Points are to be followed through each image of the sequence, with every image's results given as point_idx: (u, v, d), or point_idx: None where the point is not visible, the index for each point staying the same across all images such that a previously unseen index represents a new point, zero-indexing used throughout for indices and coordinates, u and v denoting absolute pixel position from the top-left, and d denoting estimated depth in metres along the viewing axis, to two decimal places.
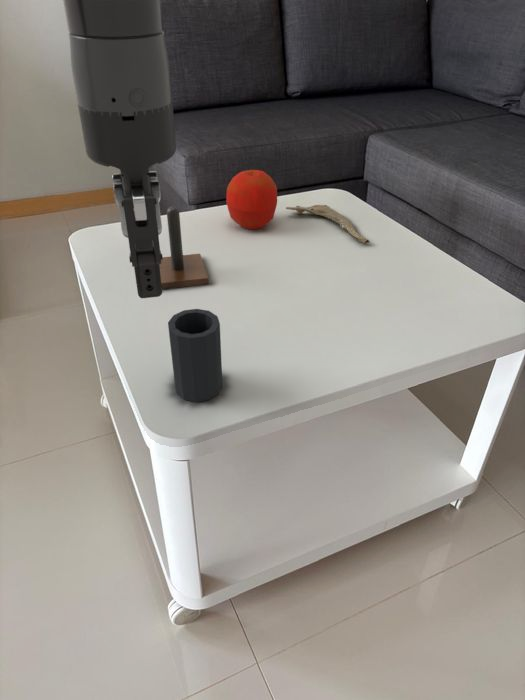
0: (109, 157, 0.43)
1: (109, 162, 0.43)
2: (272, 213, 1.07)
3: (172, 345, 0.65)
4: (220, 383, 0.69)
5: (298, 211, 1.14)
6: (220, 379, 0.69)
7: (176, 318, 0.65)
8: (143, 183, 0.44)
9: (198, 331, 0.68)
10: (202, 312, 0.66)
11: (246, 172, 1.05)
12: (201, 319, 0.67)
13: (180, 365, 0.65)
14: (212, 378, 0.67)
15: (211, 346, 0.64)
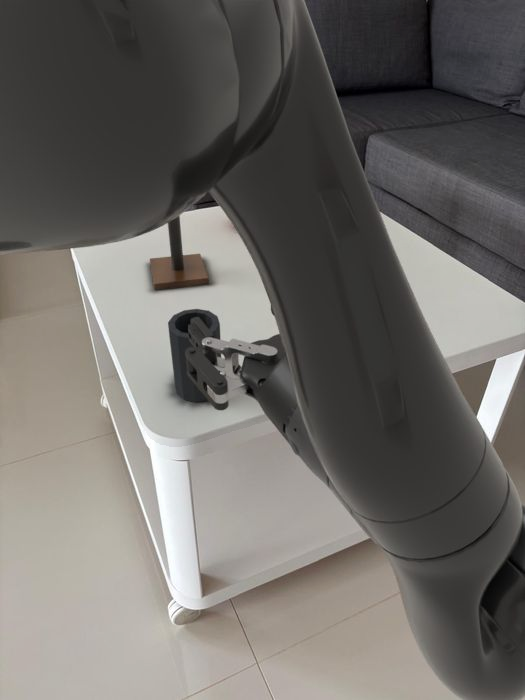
0: (269, 384, 0.41)
1: (267, 380, 0.41)
2: None
3: (172, 345, 0.65)
4: None
5: None
6: None
7: (176, 318, 0.65)
8: (250, 394, 0.44)
9: None
10: (202, 312, 0.66)
11: None
12: (201, 319, 0.67)
13: (180, 365, 0.65)
14: None
15: None
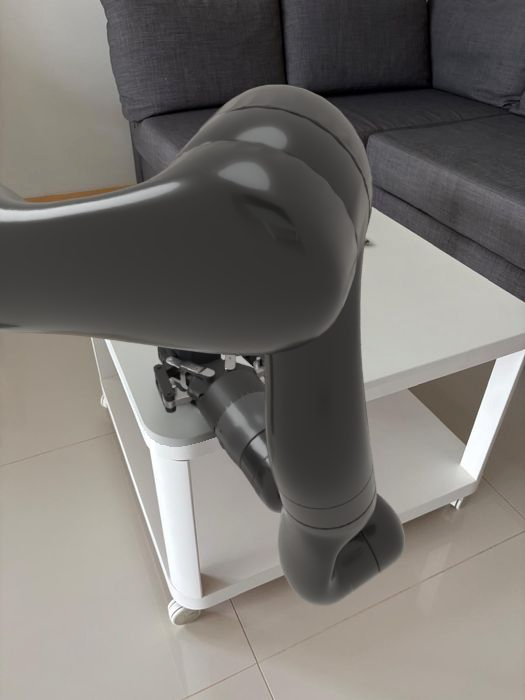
0: (205, 398, 0.57)
1: (204, 395, 0.58)
2: None
3: None
4: None
5: None
6: None
7: None
8: (192, 404, 0.60)
9: None
10: None
11: None
12: None
13: None
14: None
15: None
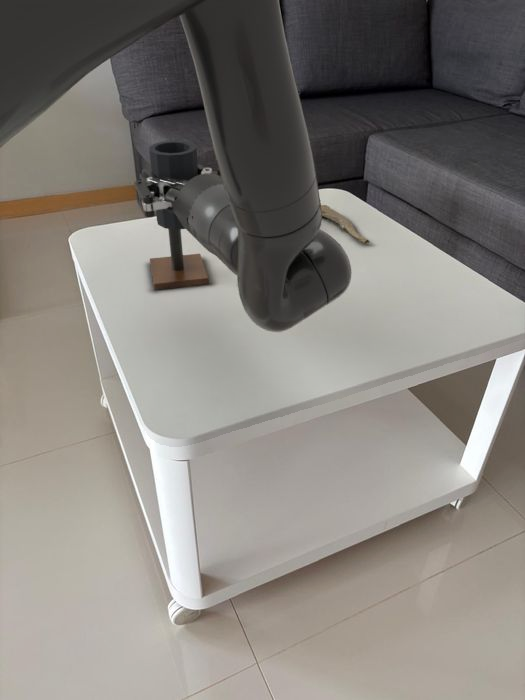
0: (180, 195, 0.63)
1: (179, 194, 0.63)
2: None
3: (152, 168, 0.70)
4: None
5: None
6: None
7: (156, 145, 0.71)
8: (169, 210, 0.65)
9: None
10: (181, 142, 0.72)
11: None
12: (181, 149, 0.72)
13: None
14: None
15: (188, 168, 0.69)
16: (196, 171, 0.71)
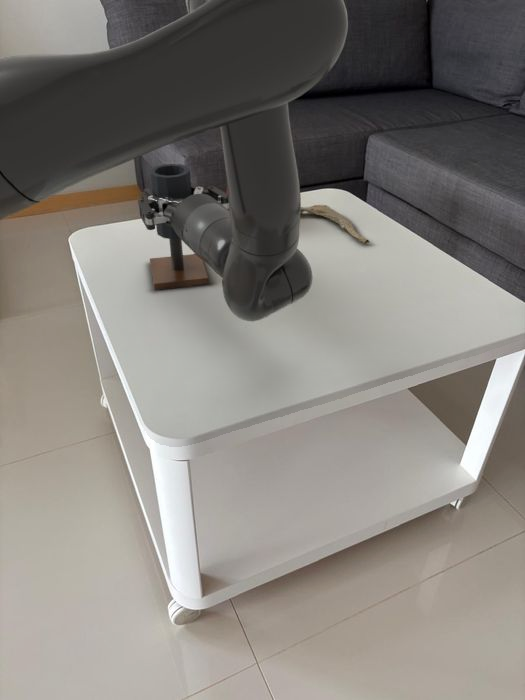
0: (176, 212, 0.76)
1: (175, 211, 0.76)
2: None
3: (153, 187, 0.83)
4: None
5: None
6: None
7: (156, 168, 0.84)
8: (167, 223, 0.78)
9: None
10: (177, 165, 0.85)
11: None
12: (176, 171, 0.85)
13: None
14: None
15: (183, 187, 0.83)
16: (190, 190, 0.84)
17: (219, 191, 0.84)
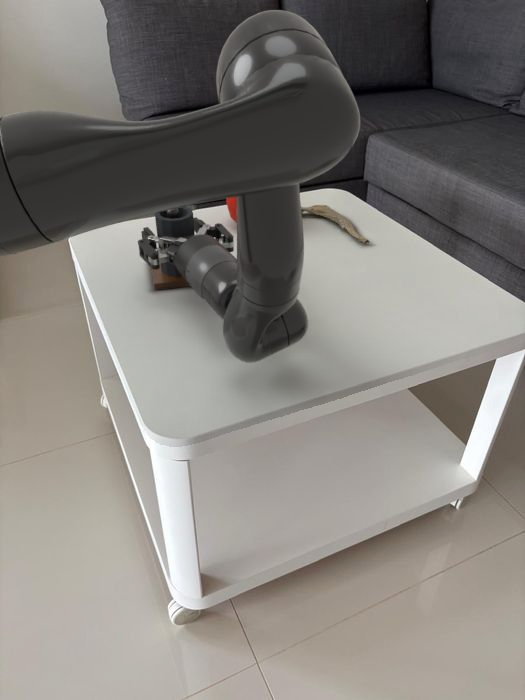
0: (179, 252, 0.80)
1: (178, 251, 0.80)
2: None
3: (157, 229, 0.87)
4: None
5: None
6: None
7: None
8: (171, 262, 0.82)
9: None
10: (180, 207, 0.89)
11: None
12: (180, 212, 0.89)
13: None
14: None
15: (186, 229, 0.87)
16: (193, 231, 0.88)
17: (224, 230, 0.87)
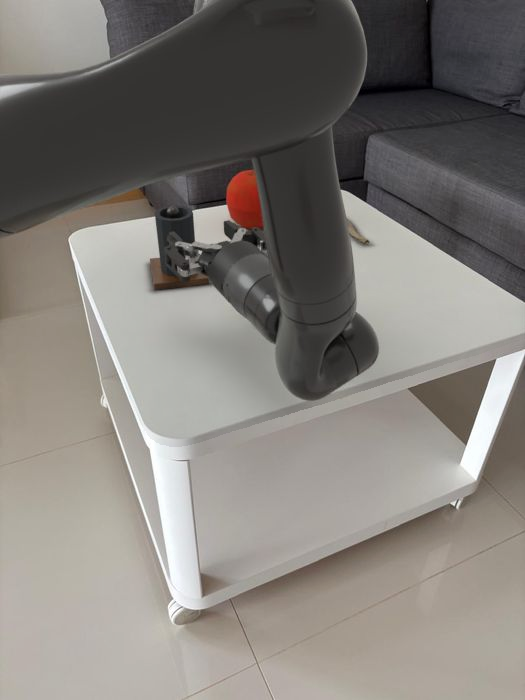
0: (214, 262, 0.67)
1: (213, 260, 0.68)
2: None
3: (157, 229, 0.87)
4: None
5: None
6: None
7: (161, 210, 0.88)
8: (204, 273, 0.70)
9: None
10: (180, 207, 0.89)
11: (246, 172, 1.05)
12: (180, 212, 0.89)
13: (164, 245, 0.88)
14: None
15: (186, 229, 0.87)
16: (193, 231, 0.88)
17: (263, 235, 0.75)
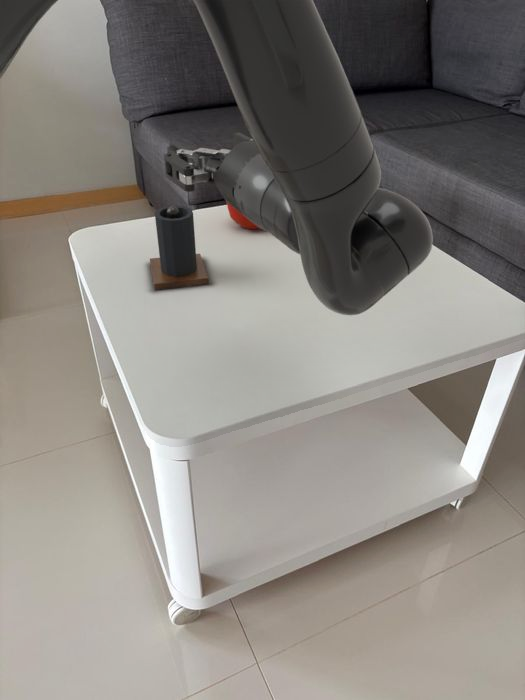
0: (224, 164, 0.56)
1: (222, 162, 0.56)
2: None
3: (157, 229, 0.87)
4: (194, 264, 0.92)
5: None
6: (194, 260, 0.92)
7: (161, 210, 0.88)
8: (211, 182, 0.59)
9: None
10: (180, 207, 0.89)
11: None
12: (180, 212, 0.89)
13: (164, 245, 0.88)
14: (188, 257, 0.90)
15: (186, 229, 0.87)
16: (193, 231, 0.88)
17: None
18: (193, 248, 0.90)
